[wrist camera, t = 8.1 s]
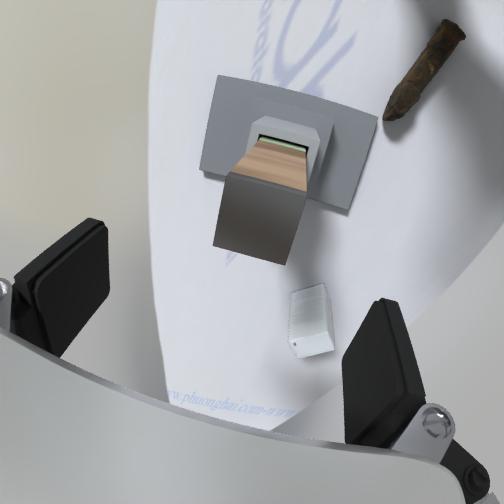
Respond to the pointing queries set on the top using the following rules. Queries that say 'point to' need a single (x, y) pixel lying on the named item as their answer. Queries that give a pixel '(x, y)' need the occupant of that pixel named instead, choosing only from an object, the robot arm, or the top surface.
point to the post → (263, 200)
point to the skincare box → (311, 322)
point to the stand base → (289, 134)
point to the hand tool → (423, 70)
